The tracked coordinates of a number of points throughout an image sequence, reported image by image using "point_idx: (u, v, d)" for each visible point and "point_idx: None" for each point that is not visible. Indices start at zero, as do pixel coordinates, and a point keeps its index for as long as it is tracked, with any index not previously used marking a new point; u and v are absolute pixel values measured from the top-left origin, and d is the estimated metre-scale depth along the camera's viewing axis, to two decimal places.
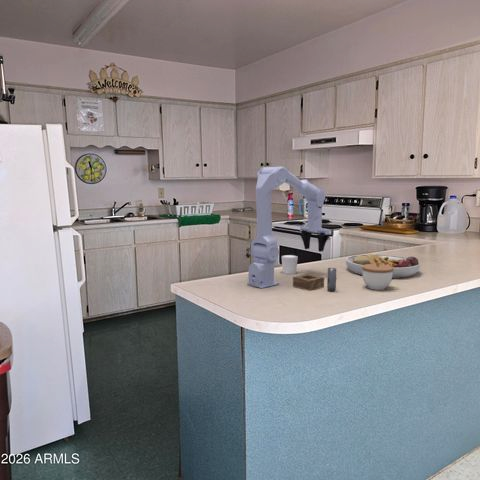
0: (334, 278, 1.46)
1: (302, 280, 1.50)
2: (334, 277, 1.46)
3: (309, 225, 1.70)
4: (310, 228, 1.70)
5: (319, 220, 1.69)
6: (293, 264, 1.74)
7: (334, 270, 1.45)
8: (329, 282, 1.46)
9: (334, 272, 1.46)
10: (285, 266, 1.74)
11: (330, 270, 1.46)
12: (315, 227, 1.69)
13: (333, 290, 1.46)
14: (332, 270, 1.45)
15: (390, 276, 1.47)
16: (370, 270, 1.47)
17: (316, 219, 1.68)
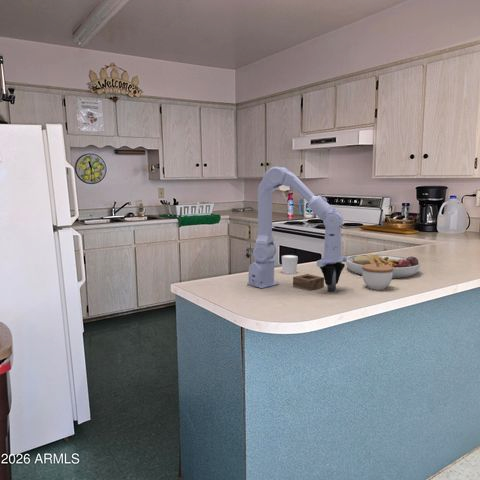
0: (334, 278, 1.46)
1: (302, 280, 1.50)
2: (334, 277, 1.46)
3: None
4: None
5: (327, 249, 1.44)
6: (293, 264, 1.74)
7: (334, 270, 1.45)
8: None
9: (334, 272, 1.46)
10: (285, 266, 1.74)
11: None
12: (324, 256, 1.46)
13: (333, 290, 1.46)
14: None
15: (390, 276, 1.47)
16: (370, 270, 1.47)
17: (325, 247, 1.45)
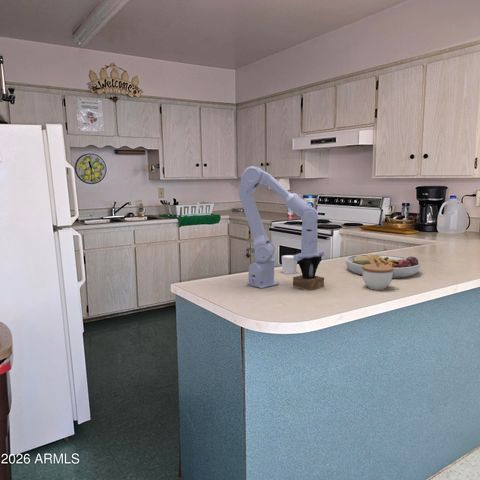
0: (311, 272, 1.51)
1: (302, 280, 1.50)
2: (311, 271, 1.51)
3: None
4: None
5: (303, 244, 1.50)
6: (293, 264, 1.74)
7: (311, 265, 1.51)
8: None
9: (311, 266, 1.51)
10: (285, 266, 1.74)
11: None
12: (301, 251, 1.52)
13: None
14: None
15: (390, 276, 1.47)
16: (370, 270, 1.47)
17: (301, 242, 1.51)
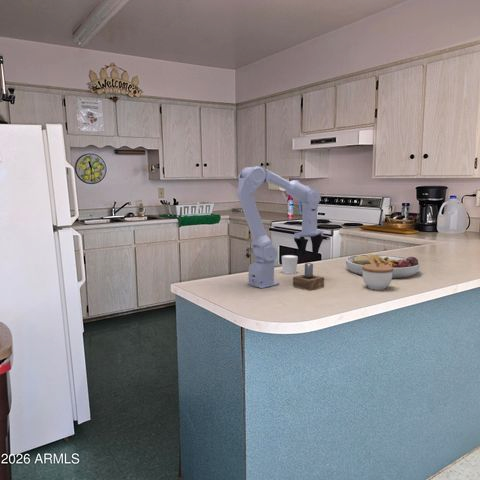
0: (311, 273, 1.51)
1: (302, 280, 1.50)
2: (311, 272, 1.51)
3: None
4: None
5: (304, 223, 1.59)
6: (293, 264, 1.74)
7: (311, 265, 1.51)
8: (306, 277, 1.52)
9: (311, 267, 1.51)
10: (285, 266, 1.74)
11: (307, 265, 1.51)
12: (302, 230, 1.61)
13: None
14: (309, 265, 1.51)
15: (390, 276, 1.47)
16: (370, 270, 1.47)
17: (302, 222, 1.60)
